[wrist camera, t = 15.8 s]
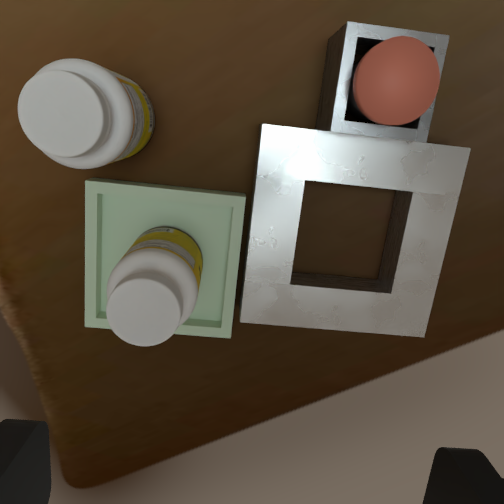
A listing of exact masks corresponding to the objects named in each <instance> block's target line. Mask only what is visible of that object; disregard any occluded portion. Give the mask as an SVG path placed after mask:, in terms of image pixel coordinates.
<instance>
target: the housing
mask: <svg viewBox="0 0 504 504" xmlns="http://www.w3.org/2000/svg"><path fill="white" fill-rule="evenodd" d="M396 36H408V37H413V38H416V39H418V40H420V41H422V42H423V43H425V44H426V45H427V46H428V47H429V48H430V49H431V51H432V52H433V53H434V55H435V57H436V59H437V62H438V65H439V71H440V77H441V73H442V68H443V63H444V59H445V54H446V50H447V45H448V41H449V36H450V35H442V34H435V33H428V32H421V31H413V30H406V29H399V28H392V27H384V26H377V25H370V24H362V23H355V22H347V23H346V24H344V25H343V26H342V27H341V28H340V29H339V30H338V31H337V32H336V33H335V34H333V35H332V36H331V37H330V38H329V39H328V46H327V53H326V59H325V66H324V73H323V80H322V87H321V93H320V100H319V107H318V114H317V121H316V127H315V130H311V129H303V128H294V127H286V126H277V125H269V124H260V125H259V134H258V143H257V152H256V161H255V170H254V179H253V188H252V197H251V206H250V215H249V224H248V233H247V242H246V250H245V259H244V268H243V277H242V286H241V295H240V304H239V310H240V322H244V323H256V324H268V325H280V326H293V327H305V328H317V329H329V330H341V331H354V332H366V333H378V334H390V335H402V336H415V337H424V335H425V331H426V327H427V323H428V319H429V315H430V311H431V307H432V303H433V299H434V295H435V291H436V287H437V283H438V279H439V275H440V271H441V267H442V263H443V259H444V255H445V251H446V247H447V243H448V239H449V235H450V231H451V226H452V222H453V218H454V214H455V210H456V206H457V202H458V198H459V194H460V190H461V186H462V182H463V178H464V174H465V170H466V166H467V162H468V158H469V154H470V150H471V148H465V147H456V146H448V145H439V144H431V143H422V142H426V141H427V137H428V132H429V128H430V123H431V118H432V114H433V109H434V105H435V100H436V97H435V99H434V101H433V102H432V104H431V105H430V107H429V108H428V109H427V110H426V112H425V113H423V114H422V115H421V116H420V117H418V118H417V119H415V120H413V121H411V122H409V123H406V124H402V125H389V126H385V125H377V124H368V123H360V122H352V121H344V117H345V111H346V104H347V98H348V92H349V86H350V80H351V74H352V68H353V62H354V56H355V54H360V55H365V54H366V53H367V52H368V51H369V50H370V49H371V48H373V47H374V46H375V45H377V44H379V43H381V42H383V41H384V40H387V39H389V38H392V37H396ZM436 95H437V94H436ZM305 180H311V181H320V182H329V183H338V184H348V185H357V186H366V187H375V188H384V189H394V190H396V193H395V198H394V202H393V207H392V212H391V217H390V222H389V227H388V232H387V236H386V241H385V246H384V251H383V256H382V261H381V266H380V271H379V275H378V280H377V279H366V278H355V277H344V276H333V275H322V274H311V273H301V272H292V266H293V259H294V252H295V245H296V239H297V232H298V225H299V218H300V211H301V204H302V197H303V190H304V184H305Z"/></svg>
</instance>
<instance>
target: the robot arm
mask: <svg viewBox="0 0 504 504" xmlns="http://www.w3.org/2000/svg"><path fill="white" fill-rule="evenodd" d="M49 447H50V446H49V429H48V425H47V423H46V422H45V421H33V420H17V419H16V420H15V419H5V420H3V421H2V422H0V504H48V501H49V497H50V491H51V466H50V448H49ZM423 504H504V479H503V478H501V477H500V475H499V474H498V473H497V471H496V470H495V468H494V467H493V466H492V465H491V463H490V462H489V460H488V459H487V458H486V456H485V455H484V454H483V453H482V452H481V451H479V450H477V449H462V448H447V447H441V448H439V449H438V450H437V451H436V453H435V456H434V460H433V464H432V469H431V472H430V476H429V480H428V484H427V488H426V493H425V496H424V500H423Z"/></svg>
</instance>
